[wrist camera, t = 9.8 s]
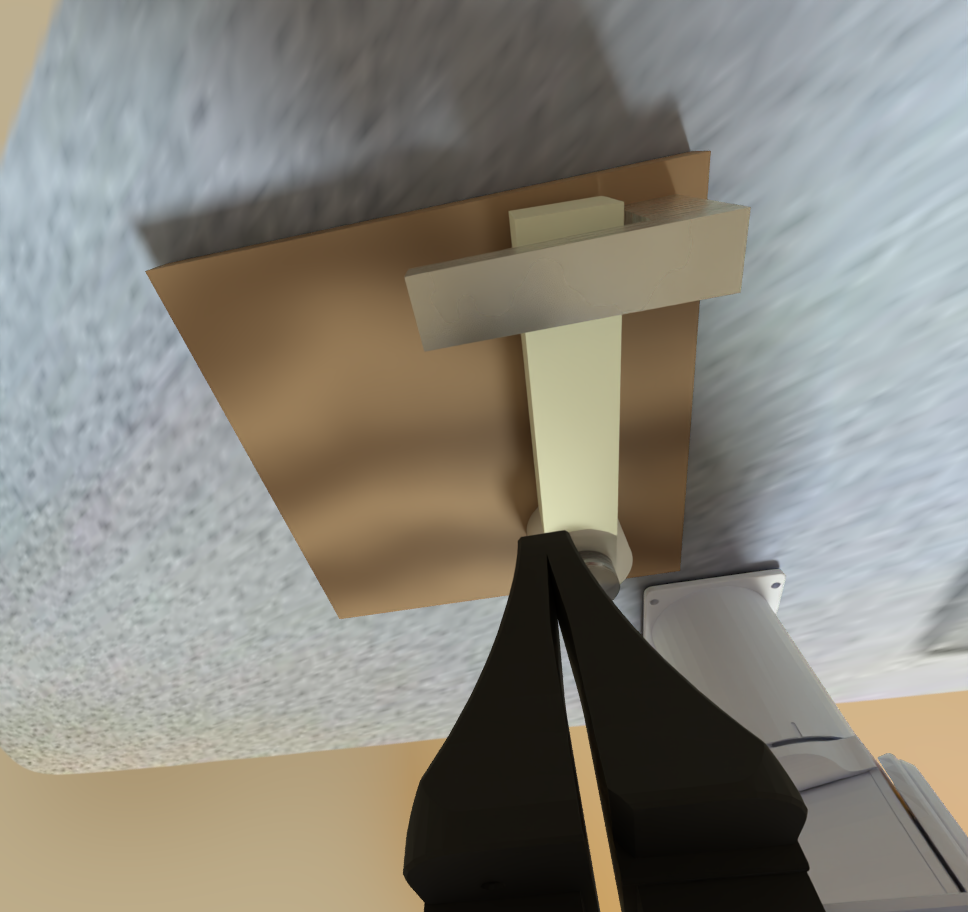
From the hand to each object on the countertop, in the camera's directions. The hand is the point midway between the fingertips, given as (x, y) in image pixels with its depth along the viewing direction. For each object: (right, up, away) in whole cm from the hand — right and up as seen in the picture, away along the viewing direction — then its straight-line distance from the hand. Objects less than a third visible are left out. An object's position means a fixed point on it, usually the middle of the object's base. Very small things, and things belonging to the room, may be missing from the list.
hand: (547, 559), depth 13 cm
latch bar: (+2, +4, +6) cm, 8 cm away
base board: (-2, +4, +9) cm, 10 cm away
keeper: (0, +10, +3) cm, 10 cm away
